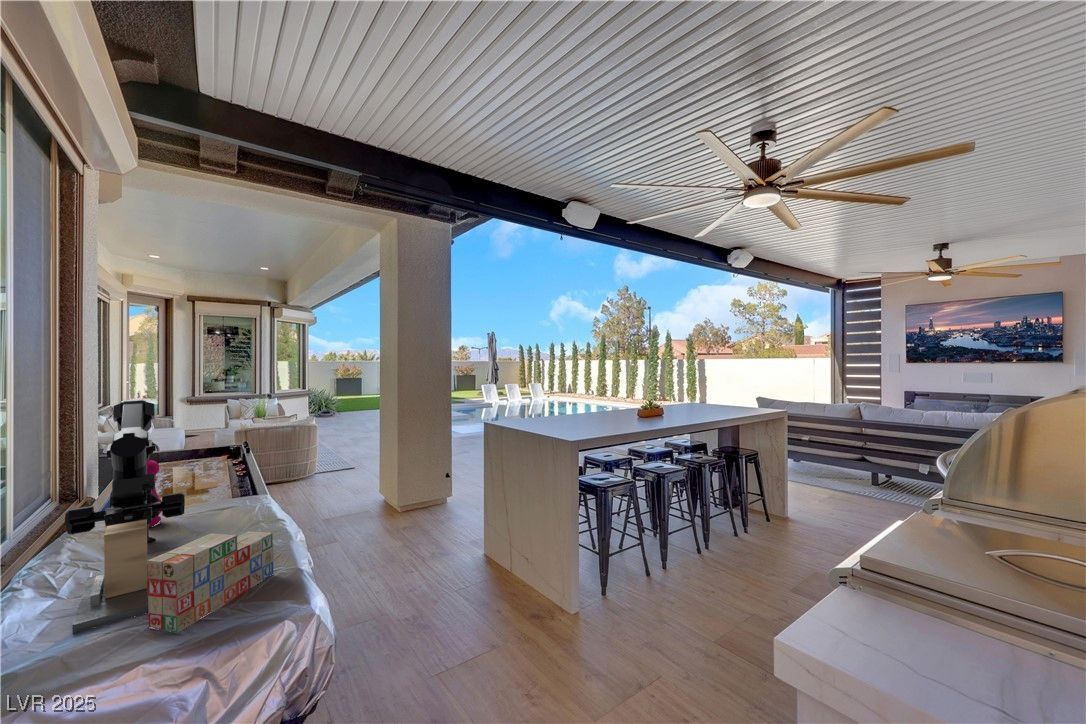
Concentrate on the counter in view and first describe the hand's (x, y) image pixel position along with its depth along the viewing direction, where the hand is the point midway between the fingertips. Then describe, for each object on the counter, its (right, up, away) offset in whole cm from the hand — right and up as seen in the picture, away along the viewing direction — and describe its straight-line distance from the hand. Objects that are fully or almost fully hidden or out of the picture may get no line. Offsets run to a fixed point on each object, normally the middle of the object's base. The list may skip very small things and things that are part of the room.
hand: (127, 548), depth 94 cm
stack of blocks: (+22, -8, -5) cm, 24 cm away
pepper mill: (-26, -8, +34) cm, 44 cm away
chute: (+2, -8, -3) cm, 9 cm away
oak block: (+3, -6, -3) cm, 8 cm away
